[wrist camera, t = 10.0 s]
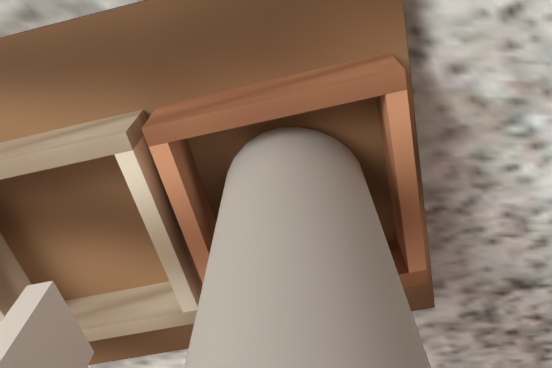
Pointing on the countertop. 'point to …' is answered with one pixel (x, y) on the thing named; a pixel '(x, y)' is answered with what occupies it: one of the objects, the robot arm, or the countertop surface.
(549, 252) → the countertop surface
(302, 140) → the beverage can
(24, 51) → the socket board
